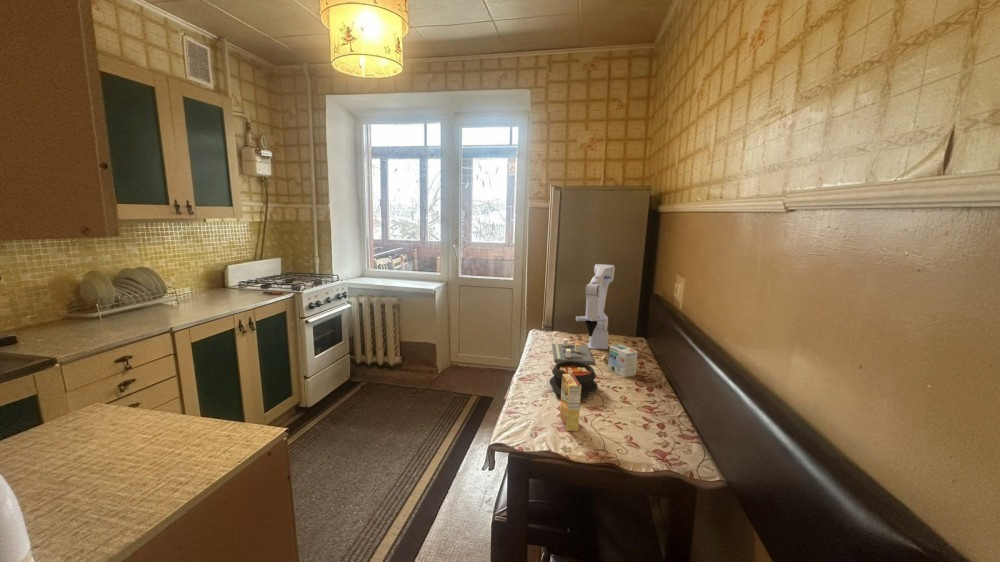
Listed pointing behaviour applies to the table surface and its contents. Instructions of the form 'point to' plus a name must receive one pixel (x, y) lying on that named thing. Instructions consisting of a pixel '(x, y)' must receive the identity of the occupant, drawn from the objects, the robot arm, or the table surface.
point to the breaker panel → (571, 353)
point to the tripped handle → (577, 347)
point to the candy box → (570, 402)
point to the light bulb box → (622, 360)
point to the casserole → (581, 373)
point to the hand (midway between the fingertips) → (590, 335)
